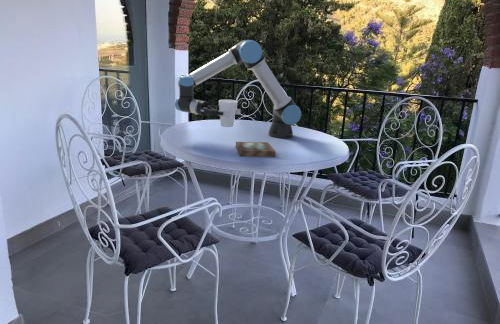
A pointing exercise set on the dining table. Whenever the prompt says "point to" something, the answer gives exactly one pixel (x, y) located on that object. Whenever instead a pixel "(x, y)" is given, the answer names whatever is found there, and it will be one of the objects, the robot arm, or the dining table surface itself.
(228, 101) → the foam cup
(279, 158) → the dining table surface
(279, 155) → the dining table surface
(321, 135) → the dining table surface
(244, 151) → the walnut base
